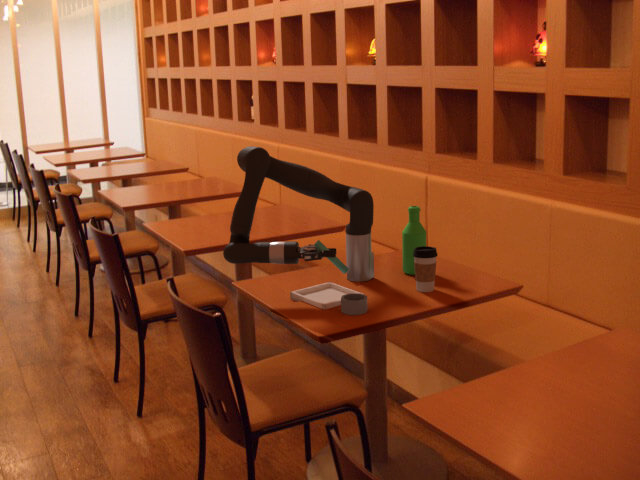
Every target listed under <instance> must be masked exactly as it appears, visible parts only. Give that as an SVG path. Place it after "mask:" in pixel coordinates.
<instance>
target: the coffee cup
mask: <svg viewBox="0 0 640 480" xmlns="http://www.w3.org/2000/svg"><path fill="white" fill-rule="evenodd" d="M413 256H414V267H415V275H414V278H415V283H416V284H415V286H416V291H418V292H419V293H430V292H434V290H435V280H436V270H437V262H438V261H437V257H438V251H437V247H433V246H428V245H426V246H421V247H416V248H414V252H413Z"/></svg>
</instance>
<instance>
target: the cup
mask: <svg viewBox="0 0 640 480" xmlns="http://www.w3.org/2000/svg"><path fill="white" fill-rule="evenodd" d="M361 293H362V292H360V293H350V294H346V295H342V297H341V305H340V309H341V310H340V311H341V312H340V313H342V314H344V315H347V316H361V315H365V314H366V313H367V312H368V309H369V307H368V295H366V294H365V293H363V294H361ZM364 294H365V295H364Z"/></svg>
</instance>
